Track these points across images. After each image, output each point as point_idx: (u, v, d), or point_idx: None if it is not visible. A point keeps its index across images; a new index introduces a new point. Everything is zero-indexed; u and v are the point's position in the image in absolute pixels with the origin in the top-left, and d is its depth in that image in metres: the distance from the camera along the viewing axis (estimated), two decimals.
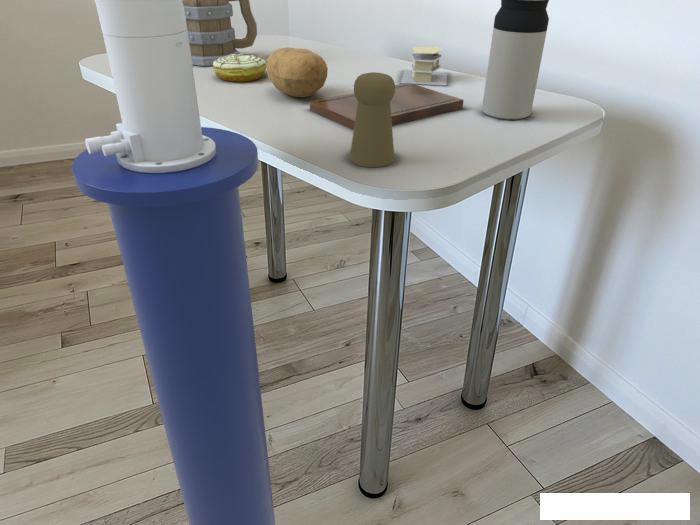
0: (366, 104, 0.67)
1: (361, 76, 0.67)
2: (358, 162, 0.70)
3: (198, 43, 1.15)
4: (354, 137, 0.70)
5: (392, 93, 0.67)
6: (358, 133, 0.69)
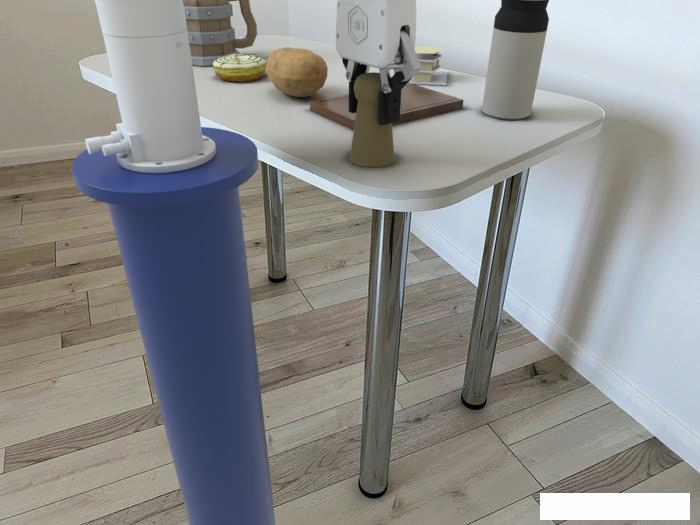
0: (366, 104, 0.67)
1: (361, 76, 0.67)
2: (358, 162, 0.70)
3: (198, 43, 1.15)
4: (354, 137, 0.70)
5: None
6: (358, 133, 0.69)
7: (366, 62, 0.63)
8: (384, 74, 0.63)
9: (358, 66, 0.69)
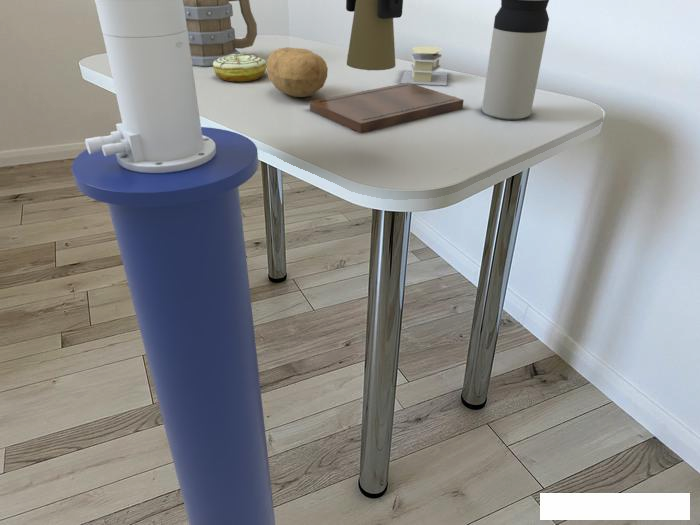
0: None
1: None
2: (356, 65, 0.64)
3: (198, 43, 1.15)
4: (352, 37, 0.64)
5: None
6: (356, 31, 0.63)
7: None
8: None
9: None
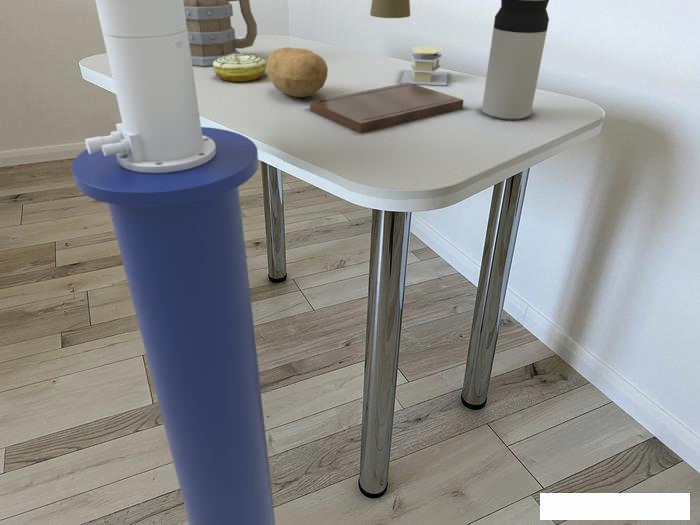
0: None
1: None
2: (378, 14, 0.79)
3: (198, 43, 1.15)
4: None
5: None
6: None
7: None
8: None
9: None
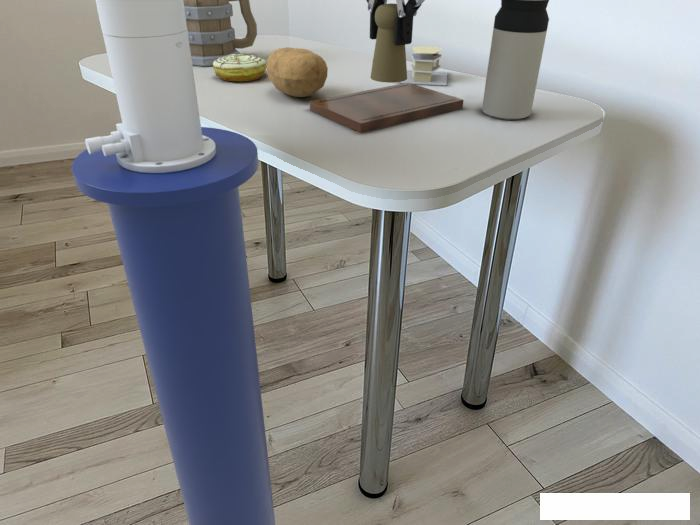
0: (384, 28, 0.83)
1: (381, 6, 0.83)
2: (378, 79, 0.87)
3: (198, 43, 1.15)
4: (374, 58, 0.86)
5: None
6: (378, 54, 0.85)
7: None
8: (400, 1, 0.79)
9: (378, 0, 0.85)
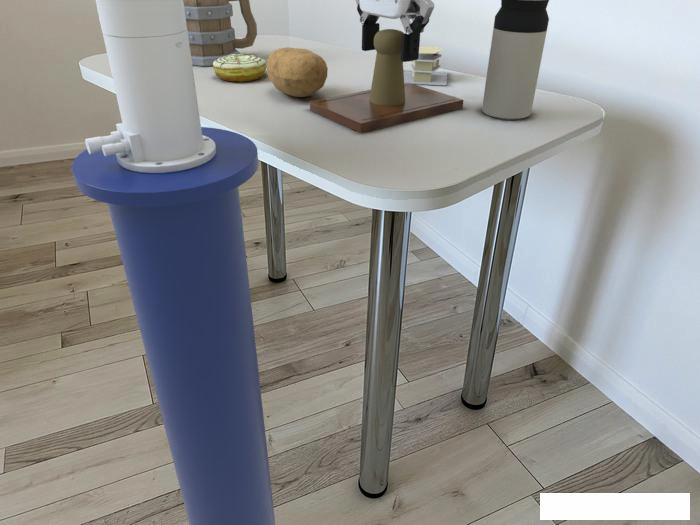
0: (383, 53, 0.85)
1: (379, 31, 0.85)
2: (376, 102, 0.89)
3: (198, 43, 1.15)
4: (373, 82, 0.88)
5: None
6: (377, 78, 0.87)
7: (384, 14, 0.81)
8: (404, 19, 0.80)
9: None
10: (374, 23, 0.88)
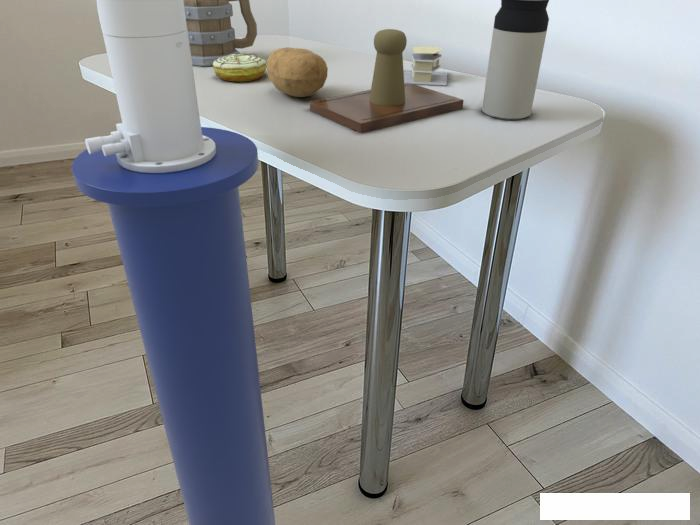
0: (383, 53, 0.85)
1: (379, 31, 0.85)
2: (376, 102, 0.89)
3: (198, 43, 1.15)
4: (373, 82, 0.88)
5: (404, 45, 0.85)
6: (377, 78, 0.87)
7: None
8: None
9: None
10: None
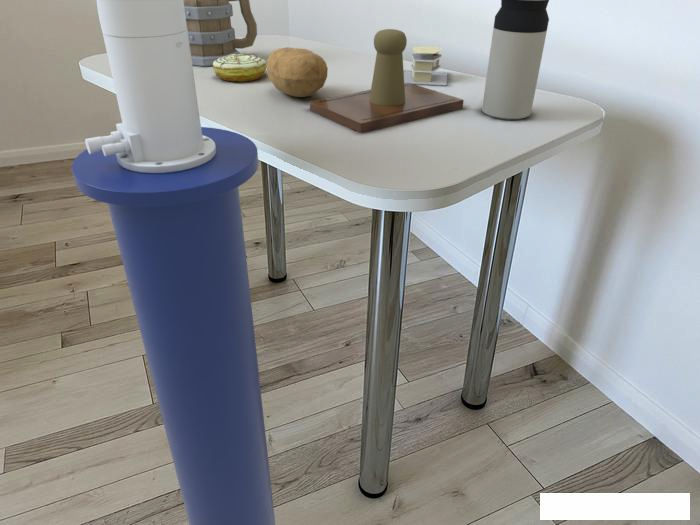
0: (383, 53, 0.85)
1: (379, 31, 0.85)
2: (376, 102, 0.89)
3: (198, 43, 1.15)
4: (373, 82, 0.88)
5: (404, 45, 0.85)
6: (377, 78, 0.87)
7: None
8: None
9: None
10: None
